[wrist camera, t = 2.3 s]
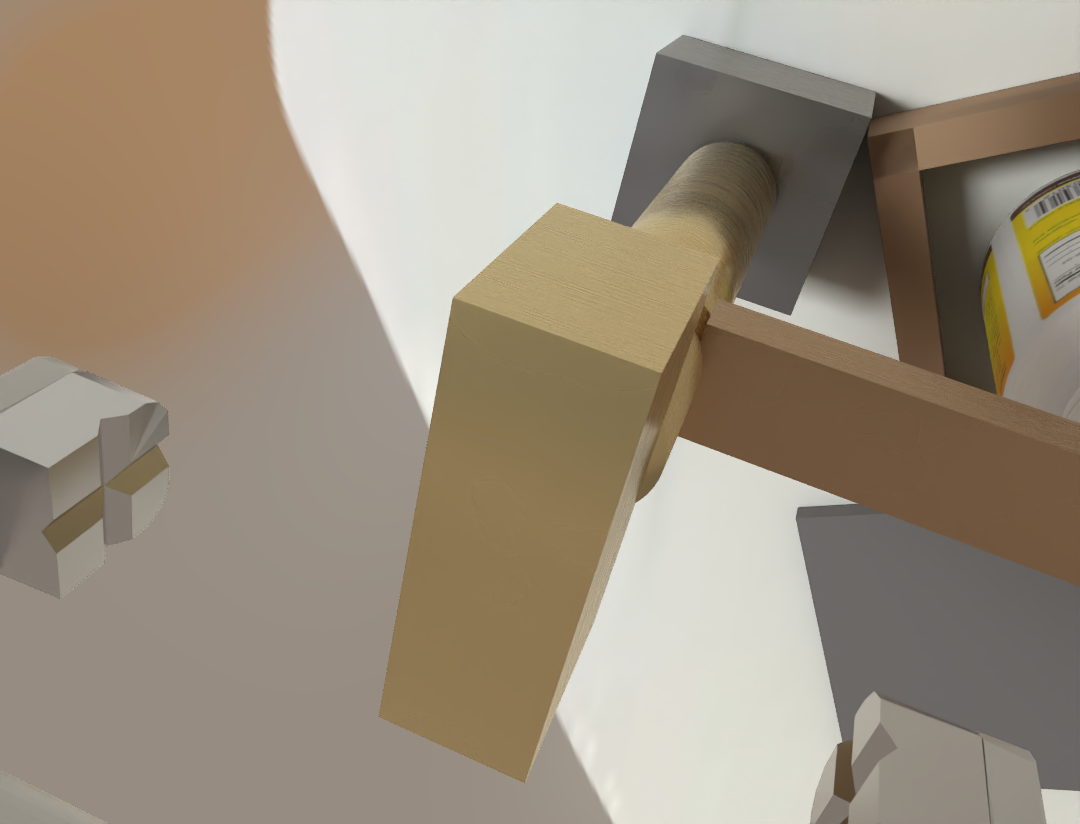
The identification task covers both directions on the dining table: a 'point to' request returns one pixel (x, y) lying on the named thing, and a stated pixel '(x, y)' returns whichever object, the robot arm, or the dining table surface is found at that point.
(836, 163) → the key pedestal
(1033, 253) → the supplement bottle
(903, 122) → the cup collar
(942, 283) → the dining table surface
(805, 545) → the rubber mat
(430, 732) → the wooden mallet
